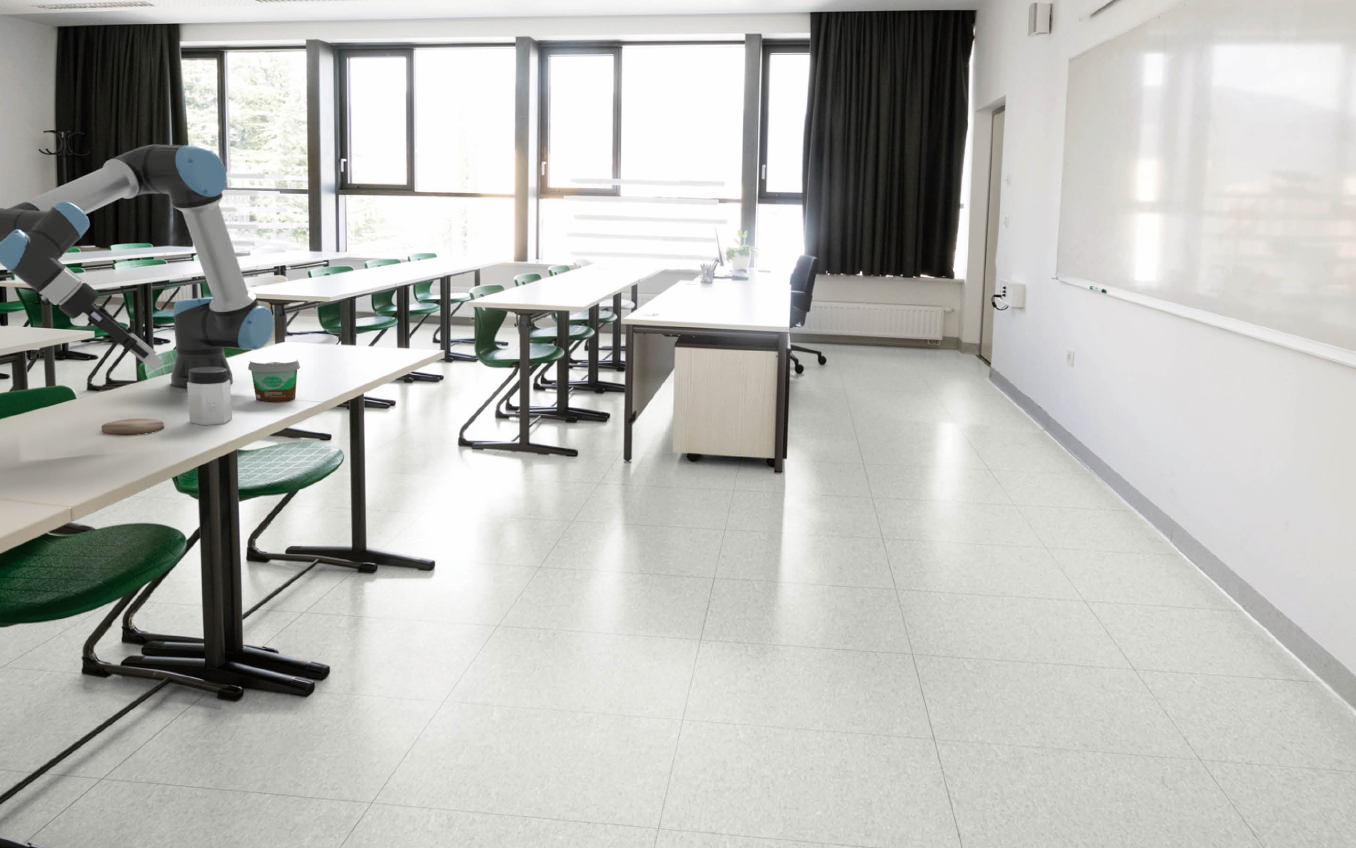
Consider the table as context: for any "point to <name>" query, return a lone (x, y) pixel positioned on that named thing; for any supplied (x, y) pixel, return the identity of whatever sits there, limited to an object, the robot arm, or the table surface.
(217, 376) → the jar
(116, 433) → the candle base
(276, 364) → the food container
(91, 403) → the table surface
